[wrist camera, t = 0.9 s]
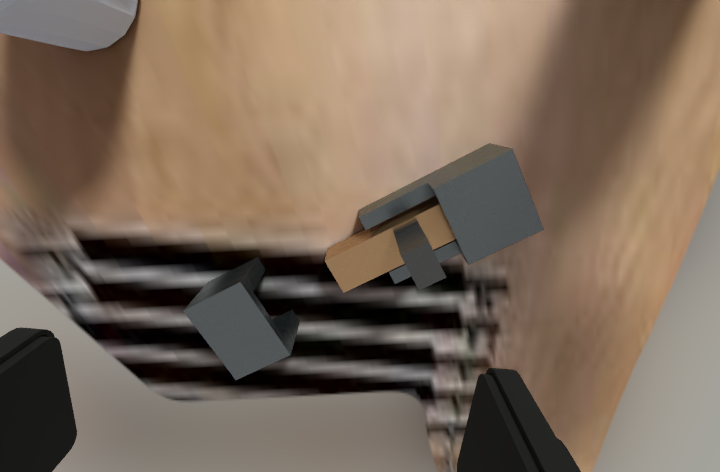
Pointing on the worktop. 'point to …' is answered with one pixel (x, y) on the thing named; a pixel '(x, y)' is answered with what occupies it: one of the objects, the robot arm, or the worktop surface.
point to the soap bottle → (68, 21)
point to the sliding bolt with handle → (394, 248)
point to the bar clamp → (473, 240)
